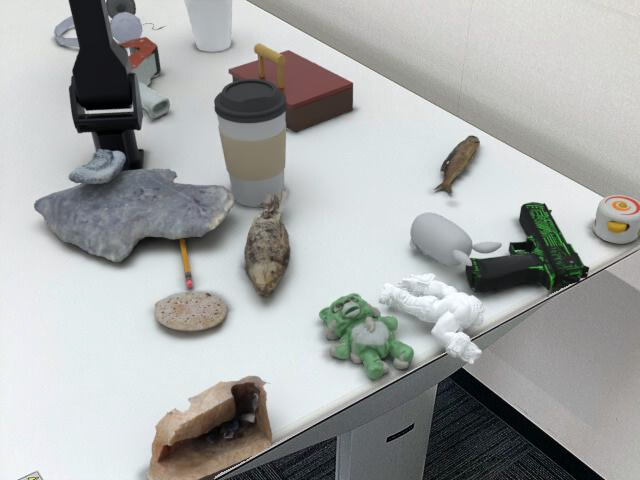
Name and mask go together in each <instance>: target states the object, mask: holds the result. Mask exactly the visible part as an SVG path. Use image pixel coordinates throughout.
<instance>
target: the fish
mask: <svg viewBox="0 0 640 480" xmlns="http://www.w3.org/2000/svg"><path fill="white" fill-rule="evenodd" d="M480 146H481V141H480V139H479V137H478V136H477V135H473V134H471V135H468V136H466V138H465V139H463V140H462V141H460V142H459V143H458V144H457V145H456V146H455V147H454V148H453V149H452V150H451V152H449V153H448V155H447V157H446V159H444V160H443V162H442V164H441V167H440V171H439V172H441V173H442V172H443V174H442V176H443V181H442V183H439V185H437V186H436V187H435V188H434V189H433V191H436V190H439V189H442V188H443V189H445V190H446V192H448V193H449V194H453V189H452V185H451V182H453V181H454V179H455V178H456V177H457V176H458V175H459V174H460V173H463V171H464V170H466V168H467V167H468V165H470V163H471V161H473V158H474V156H475V155H476V153H477V150H479V147H480Z"/></svg>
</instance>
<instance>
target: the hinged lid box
mask: <svg viewBox="0 0 640 480" xmlns="http://www.w3.org/2000/svg"><path fill="white" fill-rule="evenodd" d="M231 78H232V82H235V81H238V80H239V79H238V78H236V77H234V76H232V75H231ZM353 110H354V86H353V87H352V88H349V89H346V90H343V91H341V92H338V93H335V94H333V95H330V96H327V97H324V98H322V99H319V100H316V101H313V102H311V103H308V104H305V105H303V106H300V107H297V108H294V109H290V108H288V107H287V109H286V111H285V121H286V128H287V129H289V130H291V131H293V132H294V133H297V132H300V131H302V130H305V129H308V128H310V127H313V126H315V125H318V124H320V123H323V122H327V121H328V120H331V119H334V118H336V117H338V116H341V115H344V114H347V113H349V112H352V111H353Z"/></svg>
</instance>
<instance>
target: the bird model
mask: <svg viewBox="0 0 640 480" xmlns="http://www.w3.org/2000/svg"><path fill="white" fill-rule="evenodd" d="M289 192H290V190H289V189H287V190H284V191H283V190H282V189H280V190H279V191H278V193H277V194H276V195H275V194H274V195H275V196H273V195H272V194H271V193H267V194H266V196H265V203H261V204H260V205H259V206H261V205H262V206H263V207H262V210H263V211H261V212H259V213H258V215H260V216H257V215H256V216H254V217H253V220H252V222H251V224H250V225H251V226H250V228H249V230H248V233H247V237H246V242H245V246H244V250H243V251H244V252H243V253H244V262H245V266H243V270H244V271H245V272H246V274H247V275H248V276H249V278H250V279H251V281H252V283H253V287H254V289H255V291H256V292H257V294H259V296H261V297H263V298H266V297H269V296H271V295H272V294H273V293H275V290H276V289H277V286H278V283H279V281H280V279H281V278H283V276H284V274H285V273H286V270H287V269H288V267H289V263H290V258H291V246H290V238H289V236H290V235H289V232H288V230H287V227H286V225H285V223H284V222H283V221H282V219H281V215H283V213H282V210H283V208H284V205H285V203H286V201H287V198H288V197H289ZM259 206H257V207H256V208H260V207H259Z"/></svg>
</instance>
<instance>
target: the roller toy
mask: <svg viewBox="0 0 640 480" xmlns="http://www.w3.org/2000/svg"><path fill="white" fill-rule="evenodd" d="M592 230H593V232H594V234H595V235H596V236H597V237H599V238H600V239H601V240H603V241H605V242H608V243H612V244H617V245H618V244H619V245H624V244H629V243H631V242H633V241H635V240H637V238H638V237H639V235H640V201H639V200H637V199H635V198H633V197H631V196H627V195H622V194H621V195H620V194H612V195H608V196H605V197H604V198H602V199H601V200H600V201H599V202H598V205H597V208H596V211H595V219H594V222H593V223H592Z"/></svg>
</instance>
